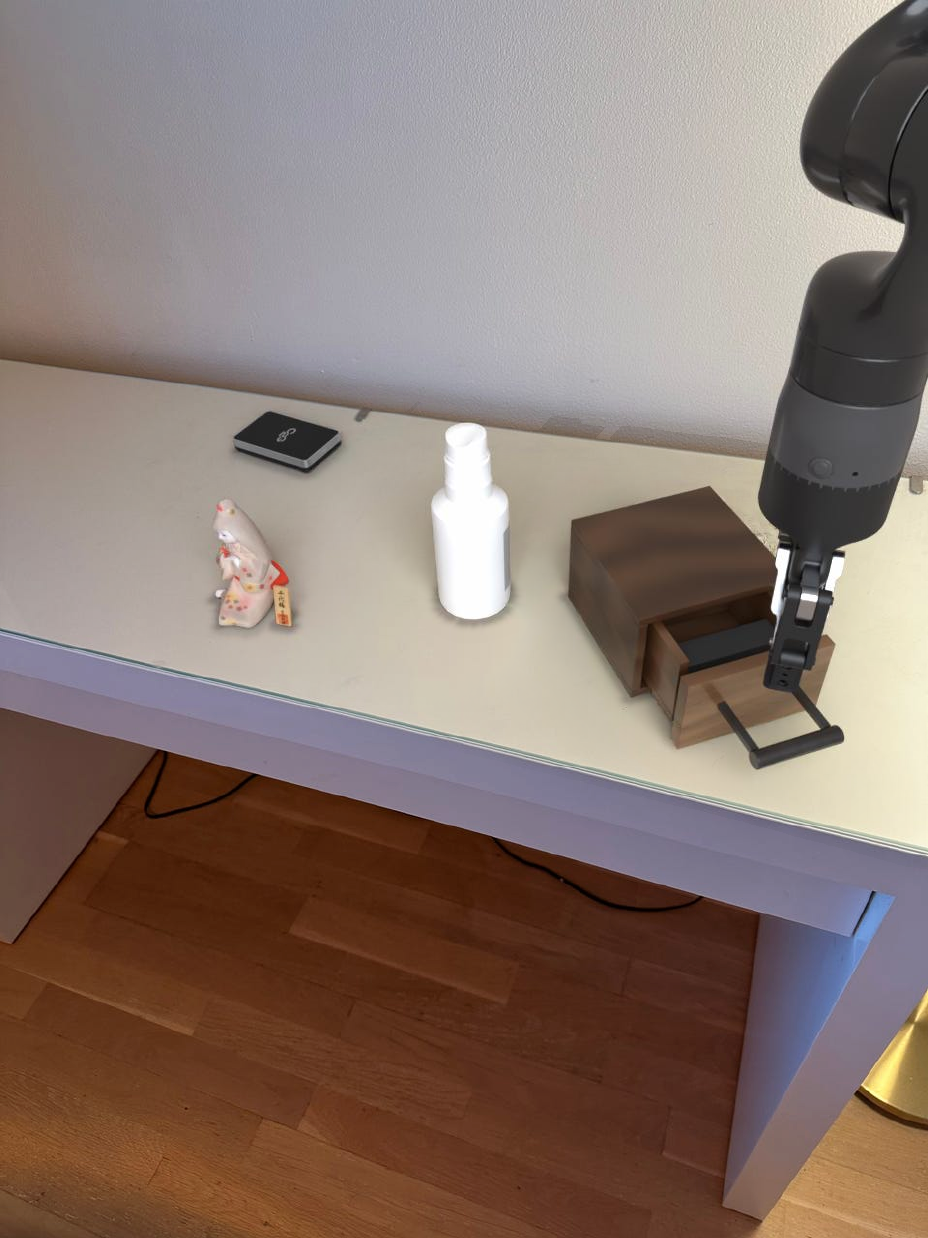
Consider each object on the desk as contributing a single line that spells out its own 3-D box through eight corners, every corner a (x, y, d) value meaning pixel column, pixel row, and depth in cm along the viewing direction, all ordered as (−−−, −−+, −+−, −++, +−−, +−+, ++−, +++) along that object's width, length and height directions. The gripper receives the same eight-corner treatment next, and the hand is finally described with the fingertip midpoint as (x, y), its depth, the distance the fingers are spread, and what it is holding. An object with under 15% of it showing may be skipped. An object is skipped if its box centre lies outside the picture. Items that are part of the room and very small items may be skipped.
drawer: (862, 765, 71) (888, 701, 66) (717, 812, 68) (731, 750, 63) (735, 609, 84) (749, 546, 79) (610, 644, 81) (615, 581, 76)
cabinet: (773, 656, 81) (794, 577, 74) (631, 697, 78) (639, 619, 72) (697, 562, 90) (710, 485, 84) (567, 596, 88) (570, 519, 81)
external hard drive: (271, 424, 112) (268, 409, 111) (345, 446, 108) (343, 431, 107) (233, 453, 108) (230, 438, 107) (309, 477, 104) (306, 462, 103)
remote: (774, 677, 76) (755, 653, 78) (784, 639, 73) (764, 615, 75) (680, 704, 75) (664, 679, 77) (687, 667, 72) (669, 642, 74)
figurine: (194, 620, 88) (167, 506, 81) (238, 584, 93) (217, 475, 86) (273, 642, 84) (252, 526, 77) (314, 604, 89) (298, 492, 82)
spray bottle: (524, 588, 89) (523, 424, 76) (485, 631, 85) (477, 465, 72) (465, 564, 92) (455, 403, 79) (424, 604, 88) (407, 441, 75)
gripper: (909, 529, 48) (837, 731, 59) (905, 390, 57) (843, 586, 69) (759, 507, 50) (716, 707, 61) (779, 377, 59) (739, 570, 70)
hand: (783, 643), depth 65 cm, fingers open, 8 cm apart
